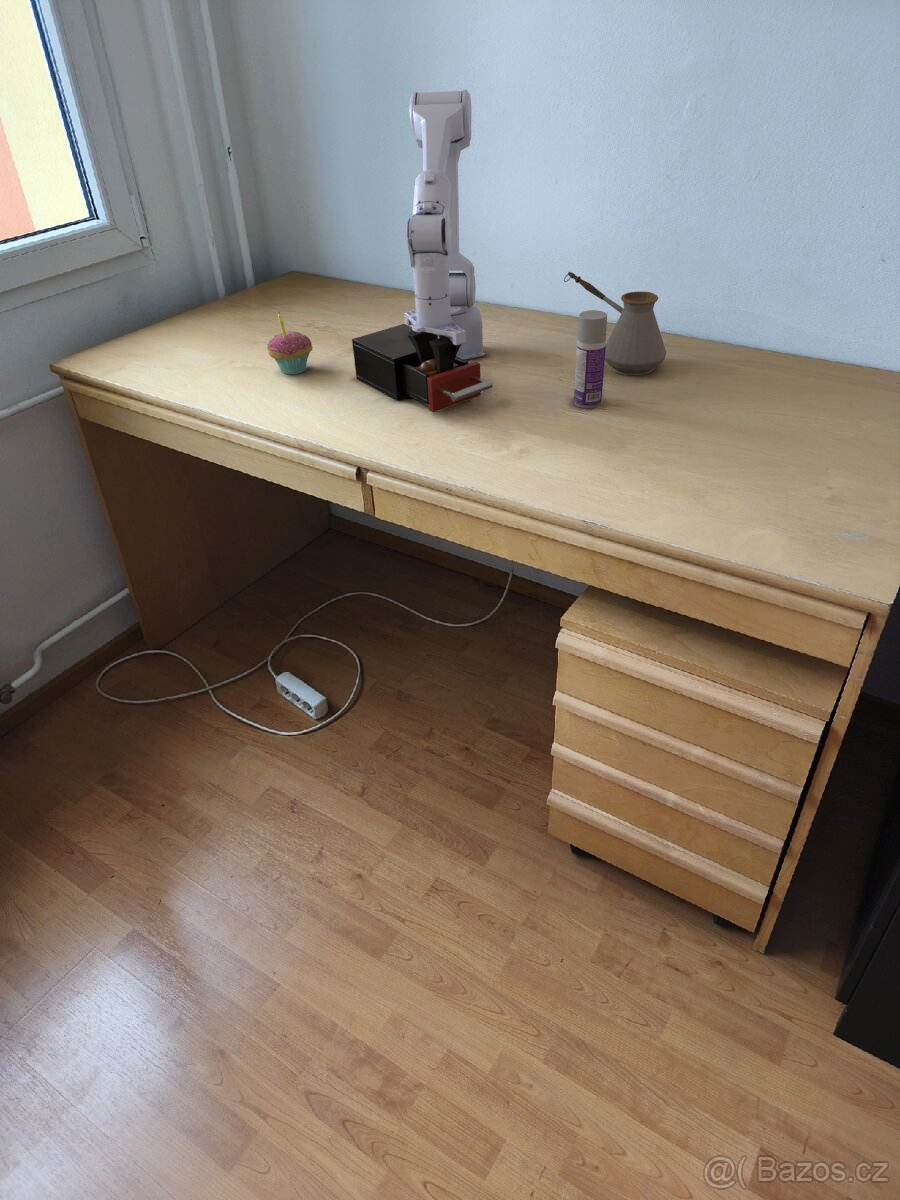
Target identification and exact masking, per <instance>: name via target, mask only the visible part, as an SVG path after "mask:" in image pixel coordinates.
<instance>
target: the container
mask: <svg viewBox="0 0 900 1200" xmlns="http://www.w3.org/2000/svg"><path fill="white" fill-rule="evenodd" d="M607 329H608V313H607V312H605V311H602V310H597V309H596V310H594V309H593V310H584V311H582V312H579V315H578V327H577V338H576V354H575V372H574V391H573V392H574V393H573V404H574V405H575V406H576V407H578V408H580V409H586V410H587V409H596V408H598V407H600V406H601V405H602V398H603V387H604V374H605V362H606V361H605V350H606V343H607Z"/></svg>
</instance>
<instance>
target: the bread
mask: <svg viewBox="0 0 900 1200" xmlns="http://www.w3.org/2000/svg"><path fill="white" fill-rule="evenodd" d="M415 368H417V369H419V370H421V371H424V372H426V373H428V374H429V375H430V377H431V376H434V375H437V374H438V372H437V364H436V359H435V358H434V359H431V360H428V361H425V362H423V363H422V364H421V366H418V367H415ZM455 368H458V364H456V363H454V365H453V369H455Z"/></svg>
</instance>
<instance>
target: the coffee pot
mask: <svg viewBox="0 0 900 1200" xmlns="http://www.w3.org/2000/svg"><path fill="white" fill-rule="evenodd" d="M567 277H569V278H568V279H567ZM566 279H567V280H566ZM571 279H573V280H574V281H575V283H576V284H580V286H581V287H583V288H584V289H585V290H586V291H587V292H589V293H590V294H591V295H594V296H595V297H597V298H598V299H600V300H602V301H604V302H605V303H606V304H607V305H609V306H610V307H612V308H613V309H614V310H615V311H616V312H618V313H620V316H619V318H618V319H617V322H616V323H615V326H614V327H613V329H612V331H611V334H610V335H609V337H608V339H607V340H606V350H605V362H606V364H607V365H608V366H609V367H610V368H611V369H612V370H613V371H614V372H615V373H618V374H620V375H626V376H642V375H648V374H650V373H652V372H653V371H654V369H656V368H658V367H659V366H660V365H661V364H662V363H663V362H664V361H665V359H666V356H667V350H666V347H665V343H664V340H663V337H662V333H661V330H660V327H659V323H658V321H657V318H656V317H657V316H656V313H655V311H654V307H655V304H656V303H657V302H658V300H659V296H658V295H657V294H655V293H654V292H652V291H631V292H626V293H624V294H622V295H621V296H620V300H621V301H622V302H623V307H622V306H621V305H619V304H618V303H616V302H614V301H613V300H612V299H610V298H609V297H608V296H606V295H605V294H604V293H603V292H602V291H600V290H599V289H598V288H596V287H595V286H594V285H593V284H592V283H590V282H588V281H586V280H584V279H582V277H581V276H580V275H579V276H577V275H576V273H574V272H573V271H568V272H567V274H566V275H565V276H564V278H563V282H564V283H567V282H569V281H570V280H571Z"/></svg>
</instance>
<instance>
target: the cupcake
mask: <svg viewBox="0 0 900 1200" xmlns="http://www.w3.org/2000/svg"><path fill="white" fill-rule="evenodd" d="M277 313H278V314H277V317H278V322H279V325H280V330H281V332H280V333H278V334H276V335H274V336H273V337H272V338H270V340H269V341H268V343H267V353H268V355H269V357H270V358H272V359H274V360H275V362H276V364H277V365H278V367H279V370H280V372H281V373H283V374H285V375H298V374H301V373H304V372H305V371H306V369H307V364H308V359H309V356H310V353H312V351H313V343H312V341H311V339H310V338H309V337H308V336H307V335H305V334H303V333H300V332H298V331H294V330H293V331H291V330H287V331H286V328H285V324H284V321H283V320H284V319H283V315H282V314H281V313H280V311H279V310H278V311H277Z"/></svg>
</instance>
